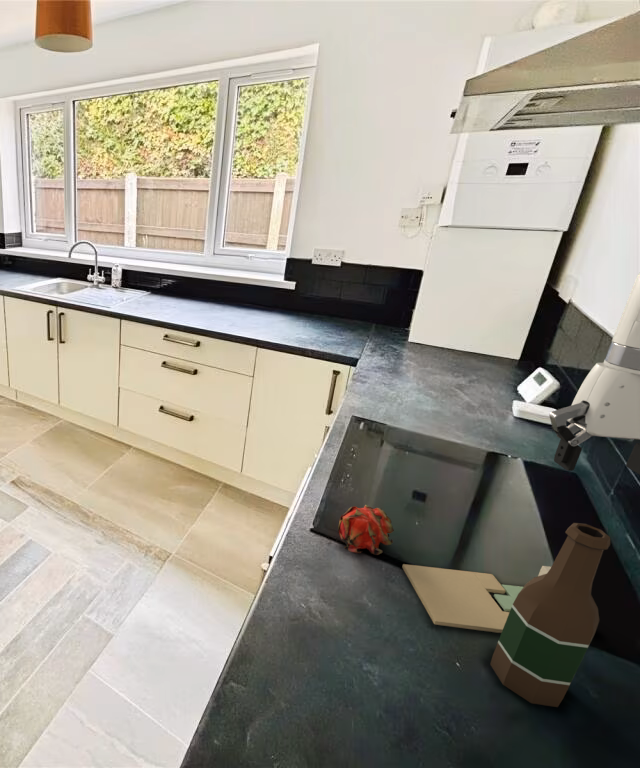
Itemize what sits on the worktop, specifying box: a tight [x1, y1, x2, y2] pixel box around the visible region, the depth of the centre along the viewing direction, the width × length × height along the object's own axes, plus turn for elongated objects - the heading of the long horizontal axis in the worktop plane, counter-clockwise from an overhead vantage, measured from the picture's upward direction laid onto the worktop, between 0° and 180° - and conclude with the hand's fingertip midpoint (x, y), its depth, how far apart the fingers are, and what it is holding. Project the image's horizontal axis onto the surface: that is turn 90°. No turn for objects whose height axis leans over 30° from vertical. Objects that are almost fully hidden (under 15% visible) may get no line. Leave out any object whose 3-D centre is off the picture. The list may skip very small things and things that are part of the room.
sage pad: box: [493, 565, 552, 612], centre depth 70 cm, size 10×8×7 cm
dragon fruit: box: [337, 504, 395, 556], centre depth 83 cm, size 8×8×12 cm
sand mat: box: [401, 563, 509, 634], centre depth 72 cm, size 14×12×1 cm
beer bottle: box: [489, 522, 611, 708], centre depth 56 cm, size 8×8×24 cm
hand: (599, 469), depth 68 cm, fingers open, 9 cm apart
